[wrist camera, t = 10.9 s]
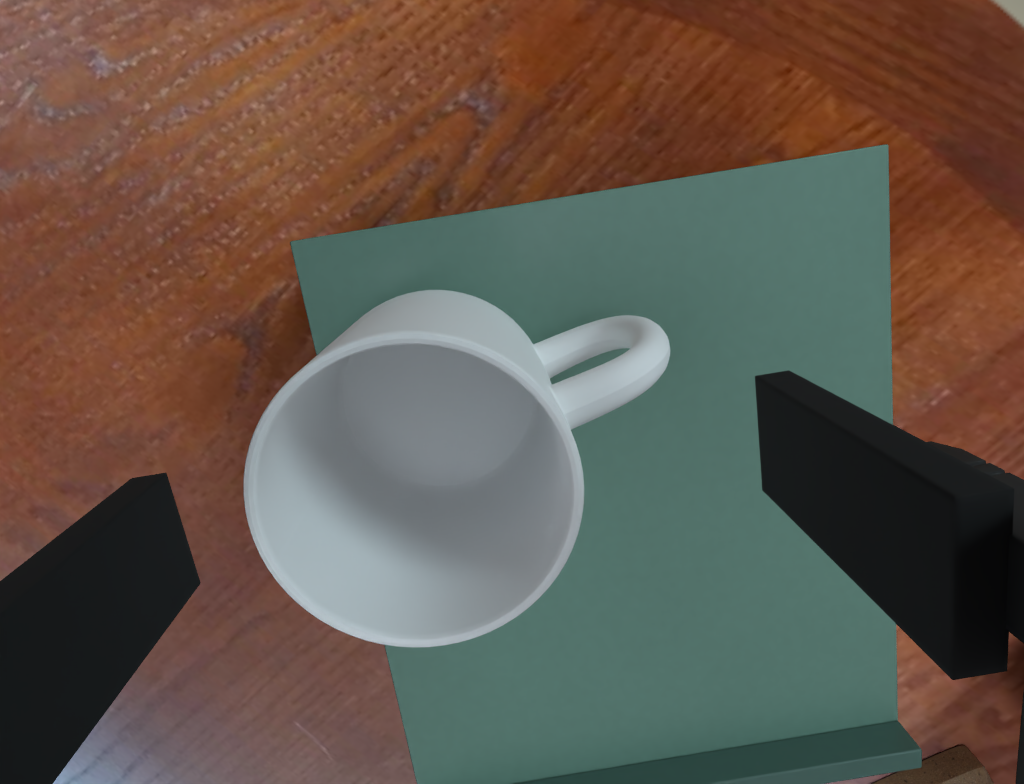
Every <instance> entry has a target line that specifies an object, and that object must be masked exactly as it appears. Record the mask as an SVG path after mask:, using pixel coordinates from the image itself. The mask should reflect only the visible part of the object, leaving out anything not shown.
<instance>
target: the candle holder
mask: <svg viewBox="0 0 1024 784" xmlns="http://www.w3.org/2000/svg"><path fill="white" fill-rule="evenodd" d="M873 784H994V783H993V781H992V780H991V778H990V776H989V774H988V772H987V770H986V769H985V767H984V766H983V765H982V764H981V763H980V762H979V761H978V759H977V758H976V757H975V756H974V755H973V754H972V753H971V752H970V750H969V749H968V748H967V747H966V746H965V745H963V746H957V747H955V748H952V749H950V750H947V751H944V752H942V753H939V754H937V755H935V756H932V757H930V758H928V759H926V760H924V761H922V767H921V768H916V769H910V770H904V771H899V772H897V773H895V774H893V775H890V776H888V777H886V778H884V779H882V780H879V781H877V782H875V783H873Z"/></svg>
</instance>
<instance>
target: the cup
mask: <svg viewBox="0 0 1024 784" xmlns="http://www.w3.org/2000/svg"><path fill="white" fill-rule="evenodd" d="M623 348H630V349H629V350H628V351H627V352H625V353H624V354H622V355H620V356H618V357H617V358H615V359H613V360H611V361H608V362H606V363H604V364H602V365H599V366H597V367H595V368H592V369H590V370H587V371H585V372H582V373H580V374H577V375H575V376H572V377H570V378H567V379H565V380H562V381H560V382H557V383H555V384H551V381H550V378H552V377H553V376H555V375H557V374H559V373H561V372H563V371H565V370H567V369H568V368H570V367H572V366H574V365H576V364H579V363H581V362H583V361H585V360H587V359H589V358H592V357H594V356H597V355H599V354H602V353H605V352H608V351H612V350H616V349H623ZM669 357H670V344H669V339H668V337H667V335H666V333H665V332H664V331H663V329H662V328H661V327H660V326H659V325H658V324H656V323H655V322H653V321H652V320H650V319H648V318H645V317H640V316H632V315H622V316H614V317H609V318H604V319H600V320H597V321H593V322H590V323H587V324H584V325H581V326H578V327H576V328H573V329H570V330H568V331H565V332H563V333H560V334H558V335H555V336H553V337H550V338H548V339H545V340H543V341H540V342H538V343H536V344H533V343H532V342H531V340H530V339H529V337H528V336H527V335H526V333H525V332H524V331H523V330H522V328H521V327H520V326H519V325H518V324H517V323H516V322H515V321H514V320H513V319H512V318H511V317H509V316H508V315H507V314H506V313H505V312H503V311H502V310H500V309H499V308H497V307H496V306H494V305H492V304H490V303H488V302H486V301H484V300H482V299H480V298H477V297H475V296H472V295H468V294H465V293H460V292H455V291H448V290H424V291H416V292H411V293H407V294H404V295H400V296H397V297H395V298H392V299H390V300H388V301H385V302H384V303H382V304H380V305H378V306H376V307H375V308H373V309H372V310H370V311H369V312H367V313H366V314H364V315H363V316H362V317H361V318H360V319H358V320H357V321H356V322H355V323H354V324H353V325H351V326H350V327H349V328H348V329H347V330H346V331H344V332H343V333H342V334H341V335H340V336H339V337H338V338H336V339H335V340H334V341H333V342H332V343H331V344H329V345H328V346H327V347H326V348H325V349H324V350H323V351H321V352H320V353H319V354H318V355H317V356H316V357H314V358H313V359H312V360H311V361H310V362H309V363H308V364H306V365H305V366H304V367H303V368H302V369H301V370H299V371H298V372H297V373H296V374H295V375H294V376H293V377H291V378H290V379H289V380H288V382H287V383H286V384H285V385H284V386H283V387H282V388H281V389H280V390H279V391H278V393H277V394H276V395H275V396H274V398H273V399H272V400H271V402H270V403H269V405H268V406H267V408H266V410H265V411H264V413H263V414H262V416H261V418H260V420H259V422H258V424H257V427H256V429H255V431H254V433H253V436H252V439H251V442H250V445H249V449H248V453H247V457H246V462H245V470H244V503H245V511H246V516H247V520H248V525H249V528H250V531H251V534H252V537H253V540H254V542H255V545H256V547H257V549H258V552H259V554H260V556H261V557H262V559H263V561H264V563H265V565H266V566H267V568H268V569H269V571H270V572H271V574H272V575H273V577H274V578H275V579H276V581H277V582H278V583H279V584H280V586H281V587H282V588H283V589H284V590H285V591H286V593H287V594H289V595H290V596H291V597H292V598H293V599H294V600H295V601H296V602H297V603H298V604H299V605H300V606H302V607H303V608H304V609H305V610H307V611H308V612H309V613H310V614H312V615H313V616H315V617H316V618H318V619H319V620H321V621H323V622H324V623H326V624H328V625H330V626H332V627H333V628H335V629H337V630H340V631H342V632H344V633H347V634H349V635H351V636H354V637H357V638H360V639H363V640H366V641H370V642H375V643H379V644H384V645H391V646H397V647H434V646H443V645H449V644H454V643H459V642H462V641H466V640H469V639H473V638H476V637H478V636H481V635H483V634H486V633H489V632H491V631H493V630H495V629H497V628H499V627H501V626H503V625H504V624H506V623H507V622H509V621H511V620H512V619H514V618H516V617H517V616H518V615H520V614H521V613H522V612H524V611H525V610H526V609H528V608H529V607H530V606H531V605H532V604H533V603H534V602H535V601H536V600H538V599H539V598H540V597H541V596H542V594H543V593H544V592H545V591H546V590H547V589H548V588H549V587H550V586H551V584H552V583H553V582H554V580H555V579H556V578H557V576H558V575H559V573H560V572H561V570H562V568H563V567H564V565H565V563H566V562H567V560H568V558H569V555H570V553H571V551H572V549H573V547H574V544H575V541H576V538H577V536H578V532H579V528H580V524H581V520H582V513H583V506H584V478H583V470H582V464H581V459H580V455H579V452H578V448H577V445H576V442H575V439H574V437H573V434H572V432H571V429H573V428H576V427H578V426H580V425H583V424H585V423H587V422H589V421H591V420H594V419H596V418H598V417H600V416H602V415H604V414H607V413H609V412H611V411H613V410H615V409H617V408H619V407H621V406H622V405H624V404H626V403H628V402H630V401H631V400H633V399H635V398H637V397H638V396H639V395H641V394H642V393H644V392H645V391H647V390H648V389H649V388H650V387H651V386H652V385H653V384H654V383H655V382H656V381H657V380H658V379H659V378H660V376H661V375H662V374H663V372H664V371H665V369H666V367H667V365H668V362H669Z"/></svg>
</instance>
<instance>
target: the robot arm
mask: <svg viewBox="0 0 1024 784" xmlns="http://www.w3.org/2000/svg"><path fill="white" fill-rule="evenodd" d="M755 387H756V402H757V418H758V433H759V448H760V463H761V479H762V491H763V492H764V493H765V494H767V495H768V496H769V497H770V498H771V499H772V500H773V501H774V502H775V503H776V504H777V505H778V506H779V507H780V508H781V509H782V510H783V511H784V512H785V513H786V514H787V515H788V516H789V517H790V518H791V519H792V520H793V521H794V522H795V523H796V524H797V525H798V526H799V527H800V528H801V529H802V530H803V531H804V532H805V533H806V534H807V535H808V536H809V537H810V538H811V539H812V540H813V541H814V542H815V543H816V544H817V545H818V546H819V547H820V548H821V549H822V550H823V551H824V552H825V553H826V554H827V555H828V556H829V557H830V558H831V559H832V560H833V561H834V562H835V563H836V564H837V565H838V566H839V567H840V568H841V569H842V570H843V571H844V572H845V573H846V574H847V575H848V576H849V577H850V578H851V579H852V580H853V581H854V582H855V583H856V584H857V585H858V586H859V587H860V588H861V589H862V590H863V591H864V592H865V593H866V594H867V595H868V596H869V597H870V598H871V599H872V600H873V601H874V602H875V603H876V604H877V605H878V606H879V607H880V608H881V609H882V610H883V611H884V612H885V613H886V614H887V615H888V616H889V617H890V618H891V619H892V620H893V621H894V622H895V623H896V624H897V625H898V626H899V627H900V628H901V629H902V630H903V631H904V632H905V633H906V634H907V635H908V636H909V637H910V638H911V639H912V640H913V641H914V642H915V643H916V644H917V645H918V646H919V647H920V648H921V649H922V650H923V651H924V652H925V653H926V654H927V655H928V656H929V657H930V658H931V659H932V660H933V661H934V662H935V663H936V664H937V665H938V666H939V667H940V668H941V669H942V670H943V671H944V672H945V673H946V674H947V675H948V676H949V677H950V678H951V679H952V680H956V679H962V678H968V677H974V676H980V675H986V674H992V673H998V672H1004V671H1007V663H1008V637H1009V632H1010V633H1011V634H1013V635H1014V636H1015V637H1016V638H1018V639H1019V640H1020V641H1021V642H1023V643H1024V480H1023V479H1021V478H1019V477H1017V476H1015V475H1013V474H1011V473H1006V474H1005V471H1004V470H1003V469H1001V468H999V467H997V466H995V465H993V464H991V463H988V464H986V461H985V460H983V459H981V458H979V457H977V456H975V455H973V454H971V453H969V452H967V451H965V450H963V449H959V448H955V447H951V446H947V445H943V444H939V443H935V442H925V441H923V440H921V439H919V438H917V437H915V436H913V435H911V434H909V433H907V432H906V431H904V430H902V429H900V428H898V427H896V426H894V425H892V424H890V423H888V422H886V421H885V420H883V419H881V418H879V417H877V416H875V415H873V414H871V413H869V412H867V411H866V410H864V409H862V408H860V407H858V406H856V405H854V404H852V403H850V402H848V401H846V400H845V399H843V398H841V397H839V396H837V395H835V394H833V393H831V392H829V391H827V390H826V389H824V388H822V387H820V386H818V385H816V384H814V383H812V382H810V381H808V380H806V379H805V378H803V377H801V376H799V375H797V374H795V373H793V372H791V371H789V370H788V371H782V372H776V373H770V374H763V375H757V376H755ZM199 585H200V580H199V577H198V573H197V570H196V567H195V564H194V561H193V557H192V554H191V551H190V548H189V544H188V541H187V538H186V535H185V532H184V528H183V525H182V522H181V519H180V515H179V512H178V509H177V506H176V503H175V499H174V496H173V493H172V490H171V487H170V483H169V480H168V477H167V474H166V473H161V474H155V475H149V476H143V477H137V478H132V479H130V480H129V481H128V482H126V483H125V484H124V485H123V486H121V487H120V488H119V489H118V490H116V491H115V492H114V493H112V494H111V495H110V496H109V497H107V498H106V499H105V500H103V501H102V502H101V503H100V504H98V505H97V506H96V507H95V508H93V509H92V510H91V511H89V512H88V513H87V514H86V515H84V516H83V517H82V518H80V519H79V520H78V521H77V522H75V523H74V524H73V525H72V526H70V527H69V528H68V529H66V530H65V531H64V532H63V533H61V534H60V535H59V536H57V537H56V538H55V539H54V540H52V541H51V542H50V543H49V544H47V545H46V546H45V547H43V548H42V549H41V550H40V551H38V552H37V553H36V554H34V555H33V556H32V557H31V558H29V559H28V560H27V561H26V562H24V563H23V564H22V565H20V566H19V567H18V568H17V569H15V570H14V571H13V572H12V573H10V574H9V575H8V576H6V577H5V578H4V579H3V580H1V581H0V784H53V782H54V781H55V780H56V778H57V777H58V776H59V774H60V773H61V771H62V770H63V769H64V767H65V766H66V765H67V763H68V762H69V761H70V759H71V758H72V757H73V755H74V754H75V752H76V751H77V750H78V748H79V747H80V746H81V744H82V743H83V742H84V740H85V739H86V738H87V736H88V735H89V734H90V732H91V731H92V729H93V728H94V727H95V725H96V724H97V723H98V721H99V720H100V719H101V717H102V716H103V715H104V713H105V712H106V711H107V709H108V708H109V706H110V705H111V704H112V702H113V701H114V700H115V698H116V697H117V696H118V694H119V693H120V692H121V690H122V689H123V687H124V686H125V685H126V683H127V682H128V681H129V679H130V678H131V677H132V675H133V674H134V673H135V671H136V670H137V669H138V667H139V666H140V664H141V663H142V662H143V660H144V659H145V658H146V656H147V655H148V654H149V652H150V651H151V650H152V648H153V647H154V645H155V644H156V643H157V641H158V640H159V639H160V637H161V636H162V635H163V633H164V632H165V631H166V629H167V628H168V627H169V625H170V624H171V622H172V621H173V620H174V618H175V617H176V616H177V614H178V613H179V612H180V610H181V609H182V608H183V606H184V605H185V603H186V602H187V601H188V599H189V598H190V597H191V595H192V594H193V593H194V591H195V590H196V589H197V587H198V586H199ZM1016 784H1024V692H1023V704H1022V716H1021V727H1020V739H1019V750H1018V762H1017V773H1016Z"/></svg>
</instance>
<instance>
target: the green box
mask: <svg viewBox="0 0 1024 784" xmlns="http://www.w3.org/2000/svg"><path fill="white" fill-rule="evenodd" d="M290 244H291V249H292V253H293V257H294V262H295V266H296V270H297V274H298V279H299V283H300V287H301V291H302V296H303V300H304V304H305V308H306V313H307V317H308V321H309V325H310V330H311V334H312V338H313V342H314V347H315V351H316V355H318V354H319V353H320V352H321V351H323V350H324V349H325V348H326V347H327V346H328V345H329V344H331V343H332V342H333V341H334V340H335V339H336V338H338V337H339V336H340V335H341V334H342V333H343V332H344V331H346V330H347V329H348V328H349V327H350V326H351V325H353V324H354V323H355V322H356V321H357V320H358V319H360V318H361V317H362V316H363V315H364V314H366V313H367V312H369V311H370V310H372V309H373V308H375V307H376V306H378V305H380V304H382V303H384V302H385V301H388V300H390V299H392V298H395V297H397V296H400V295H404V294H407V293H411V292H416V291H424V290H448V291H455V292H460V293H465V294H468V295H472V296H475V297H477V298H480V299H482V300H484V301H486V302H488V303H490V304H492V305H494V306H496V307H497V308H499V309H500V310H502V311H503V312H505V313H506V314H507V315H508V316H509V317H511V318H512V319H513V320H514V321H515V322H516V323H517V324H518V325H519V326H520V327H521V328H522V330H523V331H524V332H525V333H526V335H527V336H528V337H529V339H530V340H531V342H532V343H533V344H536V343H538V342H540V341H543V340H545V339H548V338H550V337H553V336H555V335H558V334H560V333H563V332H565V331H568V330H570V329H573V328H576V327H578V326H581V325H584V324H587V323H590V322H593V321H597V320H600V319H604V318H609V317H614V316H622V315H632V316H640V317H645V318H648V319H650V320H652V321H653V322H655V323H656V324H658V325H659V326H660V327H661V328H662V329H663V331H664V332H665V333H666V335H667V337H668V339H669V344H670V357H669V362H668V365H667V367H666V369H665V371H664V372H663V374H662V375H661V376H660V378H659V379H658V380H657V381H656V382H655V383H654V384H653V385H652V386H651V387H650V388H649V389H648V390H647V391H645V392H644V393H642V394H641V395H639V396H638V397H637V398H635V399H633V400H631V401H630V402H628V403H626V404H624V405H622V406H621V407H619V408H617V409H615V410H613V411H611V412H609V413H607V414H604V415H602V416H600V417H598V418H596V419H594V420H591V421H589V422H587V423H585V424H583V425H580V426H578V427H576V428H573V429H571V432H572V434H573V437H574V439H575V442H576V445H577V448H578V452H579V455H580V459H581V464H582V470H583V478H584V506H583V513H582V520H581V524H580V528H579V532H578V536H577V538H576V541H575V544H574V547H573V549H572V551H571V553H570V555H569V558H568V560H567V562H566V563H565V565H564V567H563V568H562V570H561V572H560V573H559V575H558V576H557V578H556V579H555V580H554V582H553V583H552V584H551V586H550V587H549V588H548V589H547V590H546V591H545V592H544V593H543V594H542V596H541V597H540V598H539V599H538V600H536V601H535V602H534V603H533V604H532V605H531V606H530V607H529V608H528V609H526V610H525V611H524V612H522V613H521V614H520V615H518V616H517V617H516V618H514V619H512V620H511V621H509V622H507V623H506V624H504V625H503V626H501V627H499V628H497V629H495V630H493V631H491V632H489V633H486V634H483V635H481V636H478V637H476V638H473V639H469V640H466V641H462V642H459V643H454V644H449V645H443V646H434V647H397V646H391V645H385V649H386V654H387V658H388V662H389V666H390V671H391V675H392V679H393V683H394V688H395V692H396V696H397V700H398V705H399V709H400V713H401V717H402V722H403V726H404V730H405V734H406V739H407V743H408V747H409V752H410V756H411V760H412V764H413V769H414V773H415V777H416V781H417V784H825V783H831V782H837V781H843V780H849V779H855V778H862V777H868V776H874V775H880V774H886V773H892V772H898V771H904V770H910V769H916V768H921V767H922V750H921V748H920V747H919V746H918V745H917V743H916V742H915V741H914V740H913V738H912V737H911V736H910V735H909V734H908V732H907V731H906V730H905V729H904V728H903V726H902V725H901V724H900V723H899V722H898V710H897V649H896V623H895V622H894V621H893V620H892V619H891V618H890V617H889V616H888V615H887V614H886V613H885V612H884V611H883V610H882V609H881V608H880V607H879V606H878V605H877V604H876V603H875V602H874V601H873V600H872V599H871V598H870V597H869V596H868V595H867V594H866V593H865V592H864V591H863V590H862V589H861V588H860V587H859V586H858V585H857V584H856V583H855V582H854V581H853V580H852V579H851V578H850V577H849V576H848V575H847V574H846V573H845V572H844V571H843V570H842V569H841V568H840V567H839V566H838V565H837V564H836V563H835V562H834V561H833V560H832V559H831V558H830V557H829V556H828V555H827V554H826V553H825V552H824V551H823V550H822V549H821V548H820V547H819V546H818V545H817V544H816V543H815V542H814V541H813V540H812V539H811V538H810V537H809V536H808V535H807V534H806V533H805V532H804V531H803V530H802V529H801V528H800V527H799V526H798V525H797V524H796V523H795V522H794V521H793V520H792V519H791V518H790V517H789V516H788V515H787V514H786V513H785V512H784V511H783V510H782V509H781V508H780V507H779V506H778V505H777V504H776V503H775V502H774V501H773V500H772V499H771V498H770V497H769V496H768V495H767V494H765V493H764V492H763V491H762V479H761V463H760V448H759V433H758V418H757V402H756V387H755V376H757V375H763V374H770V373H776V372H782V371H788V370H789V371H791V372H793V373H795V374H797V375H799V376H801V377H803V378H805V379H806V380H808V381H810V382H812V383H814V384H816V385H818V386H820V387H822V388H824V389H826V390H827V391H829V392H831V393H833V394H835V395H837V396H839V397H841V398H843V399H845V400H846V401H848V402H850V403H852V404H854V405H856V406H858V407H860V408H862V409H864V410H866V411H867V412H869V413H871V414H873V415H875V416H877V417H879V418H881V419H883V420H885V421H886V422H888V423H890V424H892V425H893V405H892V344H891V283H890V222H889V161H888V145H887V144H886V145H879V146H873V147H867V148H861V149H855V150H849V151H842V152H836V153H830V154H824V155H818V156H812V157H806V158H799V159H793V160H787V161H781V162H775V163H769V164H763V165H756V166H750V167H744V168H738V169H732V170H726V171H720V172H713V173H707V174H701V175H695V176H689V177H683V178H677V179H670V180H664V181H658V182H652V183H646V184H640V185H634V186H627V187H621V188H615V189H609V190H603V191H597V192H591V193H584V194H578V195H572V196H566V197H560V198H554V199H548V200H541V201H535V202H529V203H523V204H517V205H511V206H505V207H498V208H492V209H486V210H480V211H474V212H468V213H462V214H455V215H449V216H443V217H437V218H431V219H425V220H419V221H412V222H406V223H400V224H394V225H388V226H382V227H376V228H369V229H363V230H357V231H351V232H345V233H339V234H332V235H326V236H320V237H314V238H308V239H302V240H296V241H291V242H290ZM629 349H630V348H623V349H616V350H612V351H608V352H605V353H602V354H599V355H597V356H594V357H592V358H589V359H587V360H585V361H583V362H581V363H579V364H576V365H574V366H572V367H570V368H568V369H567V370H565V371H563V372H561V373H559V374H557V375H555V376H553V377H552V378H550V381H551V384H555V383H557V382H560V381H562V380H565V379H567V378H570V377H572V376H575V375H577V374H580V373H582V372H585V371H587V370H590V369H592V368H595V367H597V366H599V365H602V364H604V363H606V362H608V361H611V360H613V359H615V358H617V357H618V356H620V355H622V354H624V353H625V352H627V351H628V350H629Z"/></svg>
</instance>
